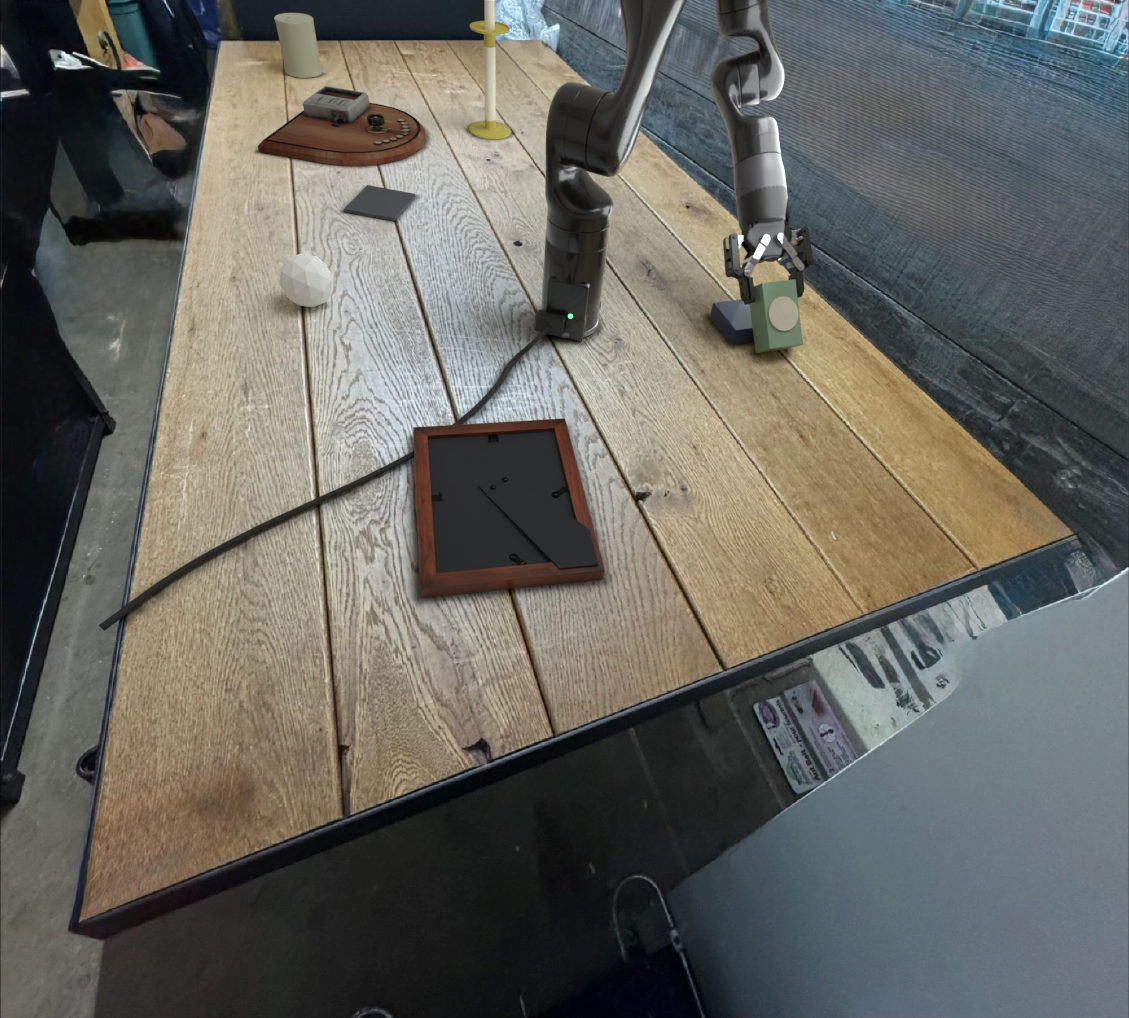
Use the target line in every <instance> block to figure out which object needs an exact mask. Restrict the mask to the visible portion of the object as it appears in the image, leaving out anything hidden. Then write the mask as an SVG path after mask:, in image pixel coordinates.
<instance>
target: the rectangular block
mask: <svg viewBox="0 0 1129 1018" xmlns="http://www.w3.org/2000/svg"><path fill="white" fill-rule="evenodd" d="M709 319H710V320H711V321H712V323H713V324H714V325H715V326H716V328H717V329H718V330H719V332H720V333H721V334H722V336H723V337H724V338H725V340H726V341H728V343H729V344H730V345H731V346H734V345H742V344H749V343H754V335H753V327H752V319H751V311H750V304H746V305H745V304H744V301H742V300H741V299H734V300H724V301H717V302H713V303H712V307H711V310H710V313H709Z"/></svg>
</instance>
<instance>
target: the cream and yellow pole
mask: <svg viewBox="0 0 1129 1018" xmlns="http://www.w3.org/2000/svg"><path fill="white" fill-rule="evenodd" d="M495 10H496V0H484V20H477V21H473V22H471V23H469V28H470V30H471V31H473V32H474V33H478V34H482V35H483V68H484V69H483V74H484V77H483V78H484V82H483V84H484V121H478V122H474V123H473V124H470V126H469V127H468V132H469V133H470V134H471V135H473V136H475V137H476V138H480V139H485V140H500V139H501V140H502V139H506V138H508V137H510V136H511V134H512V130H511V127H509V126H508V125H507V124H504V123H501V122H498V121H497V118H496V117H497V116H496V115H497V114H496V110H497V109H496V107H497V105H496V104H497V101H496V100H497V99H496V98H497V95H496V94H497V93H496V92H497V91H496V90H497V89H496V88H497V87H496V83H497V82H496V78H497V77H496V75H497V73H496V71H497V70H496V67H497V66H496V65H497V64H496V63H497V62H496V57H497V56H496V53H497V51H496V47H497V46H496V43H497V41H496V39H497V38H496V36H499V35H505V34H508V33H509V32H510V30H511V29H510V26H509V25H508V24H506V23H503V22H499V21H496V11H495Z"/></svg>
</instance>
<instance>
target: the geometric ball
mask: <svg viewBox="0 0 1129 1018" xmlns="http://www.w3.org/2000/svg"><path fill="white" fill-rule="evenodd" d="M334 279H335V278H334V276H333V274H332V272H331V270H330V269H329V267H328V266H327V264H326V263H325V262H324V261H323V260H322V259H320V258H319V257H318V256H316V255H312V254H306V253H298V254H296V255H293V256H291V257H287V258H286V260H285V261H284V263H283V264H282V266H281V268H280V275H279V286H280V288H281V289H282V291H283V293H284V294H285V296H286V297H287V298H288V299H289V300H290V301H291V302H292V303H294V304H295V305H297V306H299V307H307V308H316V307H317V306H320V305H322V304H325V303H327V302H328V300H329V298H330V297H331V296H332V294H333V291H334Z"/></svg>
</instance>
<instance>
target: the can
mask: <svg viewBox="0 0 1129 1018" xmlns="http://www.w3.org/2000/svg"><path fill="white" fill-rule="evenodd" d="M274 22H275V27H276V31H277V35H278V40H279V44H280V50H281V53H282V59H283V64H284V72H285V74H286V75H288V76H290V77H294V78H298V79H309V78H310V79H311V78H317V77H319V76H321V75H323V72H324V71H323V68H322V64H321V63H322V62H321V56H320V52H319V45H318V41H317V34H316V29H315V23H314V17H313V16H311V15H310V14H306V13H302V12H283V13H278V14H276V15H275V16H274Z"/></svg>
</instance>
